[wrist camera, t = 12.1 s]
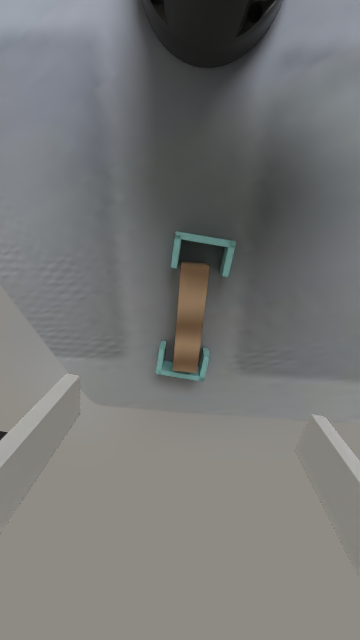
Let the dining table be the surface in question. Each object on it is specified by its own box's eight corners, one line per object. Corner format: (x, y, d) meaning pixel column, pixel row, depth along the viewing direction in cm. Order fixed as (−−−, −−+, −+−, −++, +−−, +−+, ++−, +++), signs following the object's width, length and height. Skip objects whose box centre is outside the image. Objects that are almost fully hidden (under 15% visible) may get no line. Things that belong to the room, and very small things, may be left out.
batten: (182, 261, 30) (181, 264, 26) (207, 263, 30) (210, 266, 25) (175, 353, 35) (172, 370, 30) (196, 355, 35) (196, 372, 30)
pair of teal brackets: (177, 232, 29) (175, 231, 26) (232, 242, 29) (236, 241, 26) (158, 363, 36) (155, 373, 33) (202, 371, 36) (203, 381, 33)
